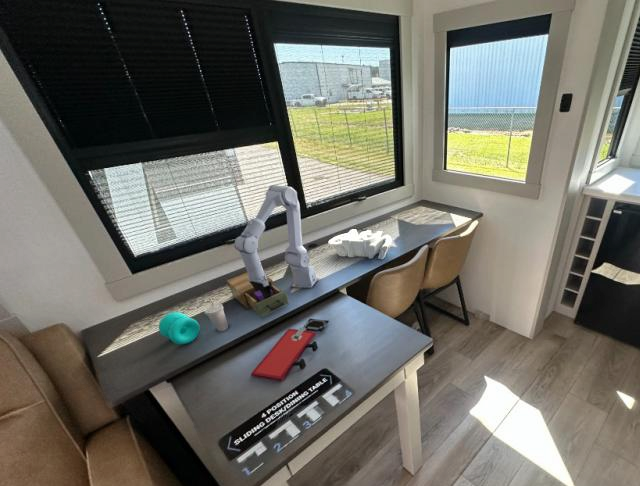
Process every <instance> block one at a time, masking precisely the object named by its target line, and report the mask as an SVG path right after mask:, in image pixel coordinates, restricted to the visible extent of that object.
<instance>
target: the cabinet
mask: <svg viewBox="0 0 640 486" xmlns="http://www.w3.org/2000/svg"><path fill="white" fill-rule="evenodd" d="M247 278H249V275H248V273H247V272H244V273H242V274H239V275H237V276H234V277H232V278H230V279H227V280H226V283H227V286H228V287H229V290H230V293H231V295H232V297H233V298H235V299H236V300H237V301H238V302H239V303H240V304H241V305H243V307H245V308H246V309H247V310H249V309H251V308H252V307H251V306H250V305H249V304H248V303H247V301H246V299H245V296H244V293H246V292H249V291H251V290H253V289H254V287H253V286H252V284H251V283H250V282H248V281H247ZM266 279H267V281H268V282H271V283H272V285H273V286H275V285H274V281H273V279H272V278H270V277H269V276H267V275H266Z"/></svg>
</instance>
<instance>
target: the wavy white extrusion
mask: <svg viewBox="0 0 640 486" xmlns="http://www.w3.org/2000/svg"><path fill="white" fill-rule="evenodd" d="M392 242H393V238H392V237H391V235H389V234H385V235H383V231H382V230H377V231H376V232H375V233H372V230H370V229H368V230H365V231H360V233H358V230H357V229H350V230H349V231H348V232H347V233H342V234H338V235H335V236H334V237H332V238H331V239H329V240H328V245H329V246H330V247H331V248H332V250H333V251H334V252H335V253H336V254H337V255H338V256H339V257H348V258H354V257H364V258H368V259H370V260H372V259H374V258H375V256H377V255H378V257H377V260H383V259H384V258H385V257H386V255H387V253H388V251H389V249H390V247H391V245H392Z"/></svg>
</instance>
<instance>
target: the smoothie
mask: <svg viewBox="0 0 640 486" xmlns="http://www.w3.org/2000/svg"><path fill="white" fill-rule="evenodd" d="M208 299H209V302H210V303H211V304H209V305H208V306H206V307H205V308H204V310H203V313H204V315H206V316H207V317H208V318H209V320H210V321H211V323H212V324H213V325H214V327H215V328H216V330H217V331H218V332H224V331H226V330H227V329H229V325H228V321H227V317H226V314H225V311H224V306H223V304H222V303H220V302H219V303H218V302H217V303H214V301H213V298H212V297H211V296H209V297H208Z"/></svg>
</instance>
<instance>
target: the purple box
mask: <svg viewBox="0 0 640 486" xmlns="http://www.w3.org/2000/svg"><path fill="white" fill-rule="evenodd" d="M254 295H255V298H256V301H257V303H258V302H260V301H262V300H264V299H265V298H264V296H263V294H262V293H261V291H260V290H259V291H256V292H254ZM271 296H273V292H272V290H271Z"/></svg>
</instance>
